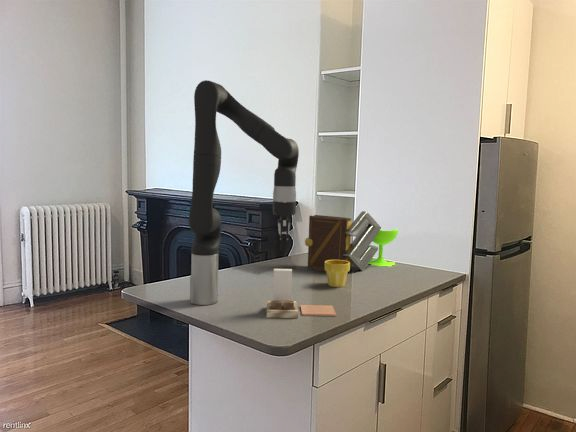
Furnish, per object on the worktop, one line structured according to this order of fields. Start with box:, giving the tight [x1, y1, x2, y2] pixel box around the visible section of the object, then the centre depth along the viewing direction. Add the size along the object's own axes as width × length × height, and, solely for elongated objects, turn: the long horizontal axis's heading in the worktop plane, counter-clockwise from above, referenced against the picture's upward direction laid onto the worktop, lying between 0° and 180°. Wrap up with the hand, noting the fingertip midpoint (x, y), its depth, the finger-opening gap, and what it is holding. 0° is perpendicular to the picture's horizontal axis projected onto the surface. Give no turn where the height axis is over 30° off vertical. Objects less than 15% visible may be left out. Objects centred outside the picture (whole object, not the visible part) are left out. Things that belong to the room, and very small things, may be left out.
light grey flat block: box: [272, 268, 293, 305], centre depth 163 cm, size 6×2×13 cm, turn 92°
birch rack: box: [266, 300, 299, 319], centre depth 161 cm, size 10×11×2 cm
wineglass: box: [369, 228, 399, 267], centre depth 245 cm, size 16×16×18 cm
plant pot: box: [325, 260, 351, 288], centre depth 200 cm, size 10×10×10 cm
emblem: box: [343, 210, 382, 272], centre depth 228 cm, size 28×5×28 cm, turn 141°
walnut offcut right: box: [283, 300, 294, 310], centre depth 159 cm, size 3×2×4 cm
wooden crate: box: [304, 214, 352, 273], centre depth 228 cm, size 22×8×25 cm, turn 58°
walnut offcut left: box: [270, 300, 282, 310], centre depth 159 cm, size 3×2×4 cm
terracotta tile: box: [300, 304, 337, 317], centre depth 164 cm, size 11×10×1 cm
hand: (283, 249), depth 162 cm, fingers open, 8 cm apart
